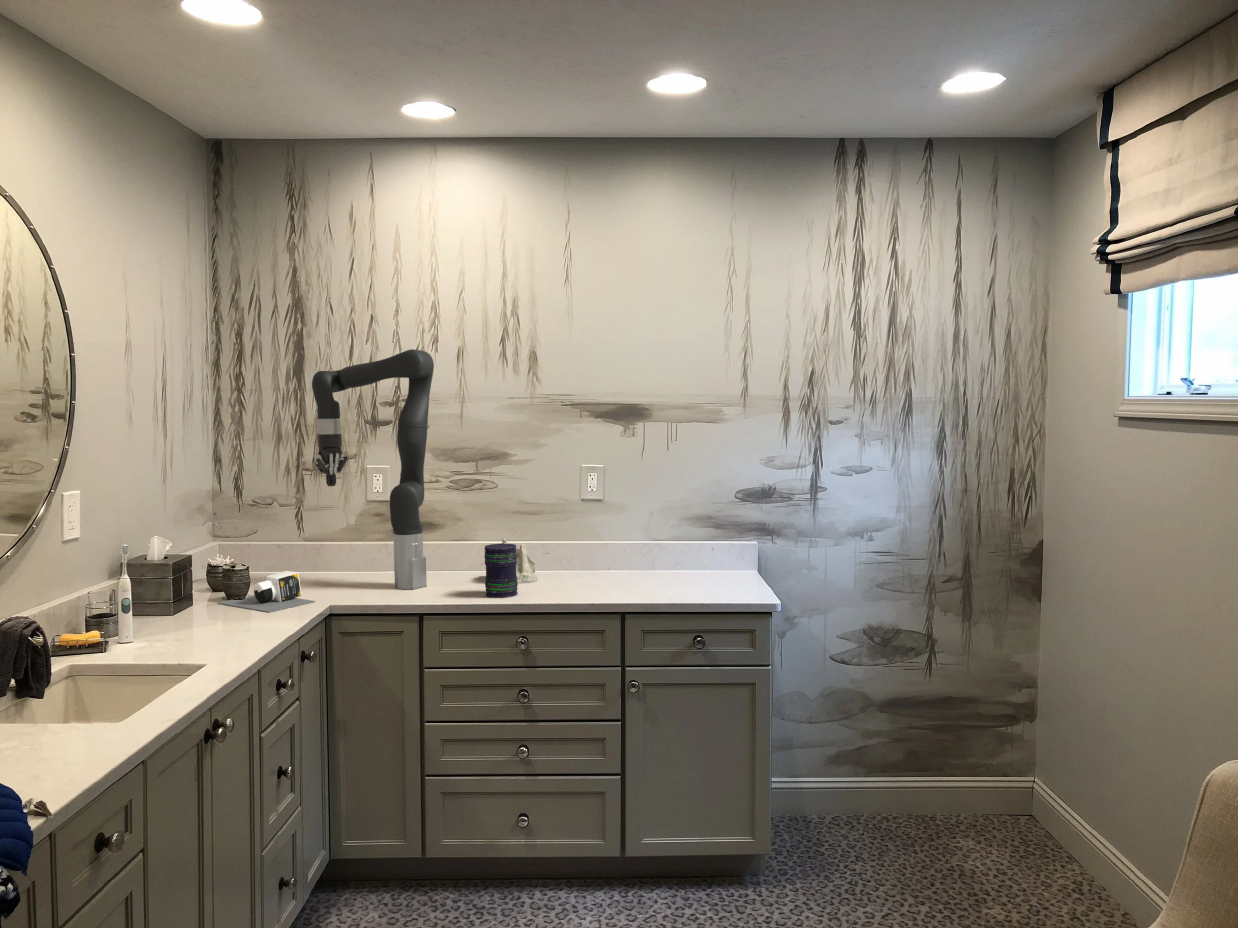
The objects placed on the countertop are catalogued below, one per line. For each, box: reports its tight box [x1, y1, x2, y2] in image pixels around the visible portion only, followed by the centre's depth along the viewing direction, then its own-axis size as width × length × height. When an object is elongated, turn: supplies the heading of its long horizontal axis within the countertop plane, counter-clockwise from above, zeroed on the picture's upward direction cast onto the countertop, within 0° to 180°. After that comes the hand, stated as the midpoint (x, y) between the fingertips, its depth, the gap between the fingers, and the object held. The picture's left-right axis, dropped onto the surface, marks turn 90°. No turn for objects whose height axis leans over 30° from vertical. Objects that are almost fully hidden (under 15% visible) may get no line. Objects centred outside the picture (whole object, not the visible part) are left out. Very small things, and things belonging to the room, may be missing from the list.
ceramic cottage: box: [501, 537, 539, 585], centre depth 311 cm, size 16×16×15 cm
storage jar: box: [484, 543, 519, 599], centre depth 287 cm, size 10×10×15 cm
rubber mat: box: [217, 594, 316, 614], centre depth 281 cm, size 24×16×1 cm, turn 57°
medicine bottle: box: [253, 570, 303, 603], centre depth 282 cm, size 7×7×12 cm
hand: (331, 485), depth 307 cm, fingers closed
